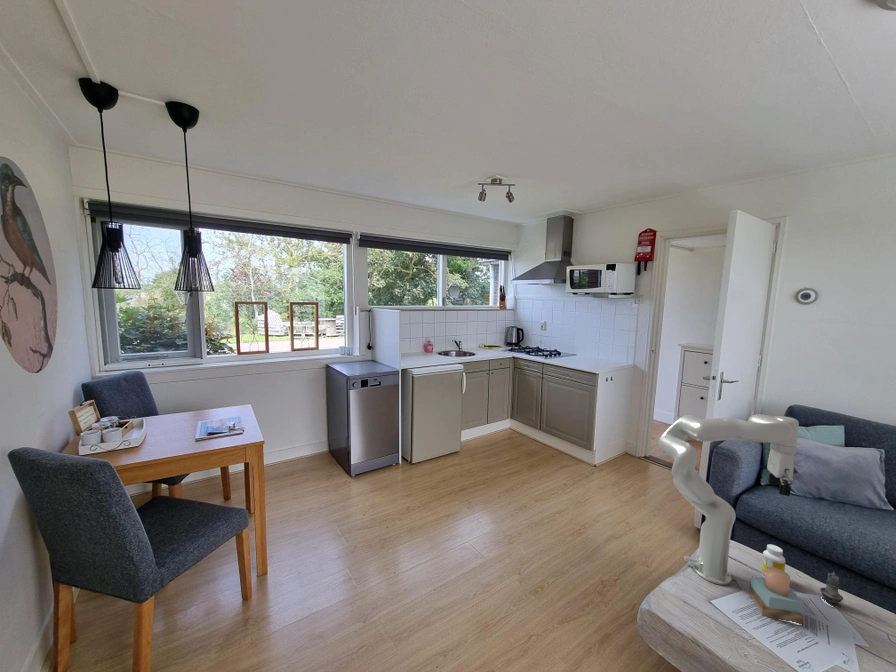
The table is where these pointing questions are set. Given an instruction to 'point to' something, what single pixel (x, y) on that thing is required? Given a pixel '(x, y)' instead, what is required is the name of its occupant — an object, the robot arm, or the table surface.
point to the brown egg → (777, 581)
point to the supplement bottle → (772, 559)
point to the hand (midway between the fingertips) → (778, 489)
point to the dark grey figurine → (832, 591)
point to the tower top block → (777, 597)
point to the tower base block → (775, 610)
